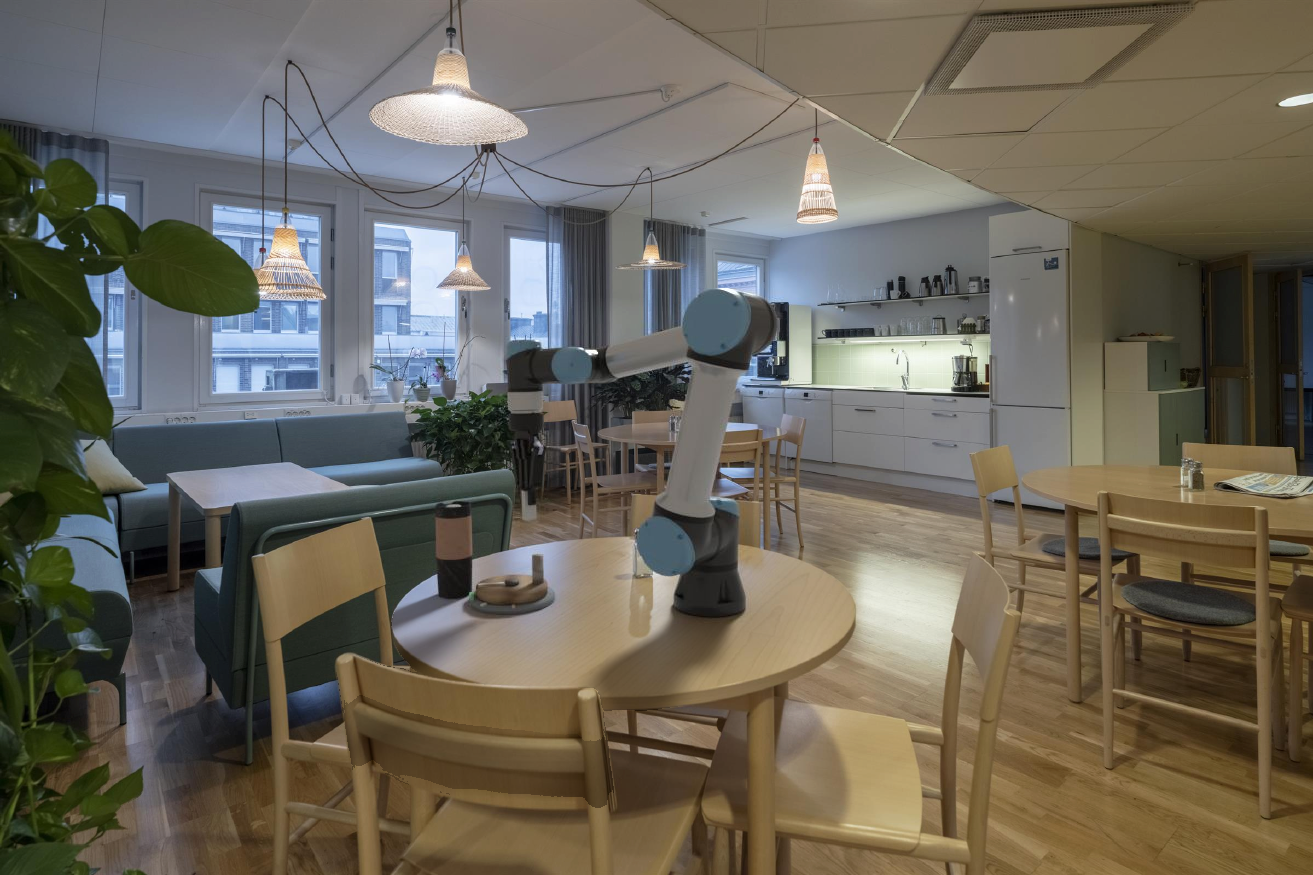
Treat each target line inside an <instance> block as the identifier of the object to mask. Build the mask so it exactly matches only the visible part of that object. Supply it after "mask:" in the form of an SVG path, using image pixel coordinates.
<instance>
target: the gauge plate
mask: <svg viewBox="0 0 1313 875" xmlns="http://www.w3.org/2000/svg"><path fill="white" fill-rule="evenodd" d="M555 597H556V593H555V591H554V589H553V588H551V587H549V586H548V593H547V595H546V596H545V597H543V598H541V599H539V600H536V601H533V602H528V603H523V604H513V605H498V604H490V603H485V602H482V601H480V600H478V599H477V598H476V590H474V591H472V592H469V596H468V605H469V607H470V608H471V609H472V610H474V611H476V610H477V611H476V612H479V613H483V614H488V615H489V614H491V615H518V614H526V613H527V614H528V613H531V612H532V613H533V612H535V611H539V610H543V609H545V608H547V607H549V606H551V605H553V603H554V602H555V599H556V598H555Z"/></svg>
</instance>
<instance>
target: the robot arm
mask: <svg viewBox="0 0 1313 875" xmlns="http://www.w3.org/2000/svg"><path fill="white" fill-rule="evenodd" d="M778 324H779V323H778V315H777V313H776V311H775V308H774V307H773V305H772V304H771V303H770V302H769V301H768V300H767V299H765V298H763V297H762V296H760V295H758V294H755V293H748V292H744V291H740V290H736V289H733V288H724V287H722V288H721V287H720V288H718V287H716V288H710V289H709V288H708V289H706V290H704V291H702V292H701V293H698V295H695V297H694V298H693V299H691V301H690V302H689V304H688V305H687V307H686V309H685V311H684V314H683V317H682V322H681V325H680V326H676V327H672V328H668V329H665V330H661V331H657V332H653V333H650V334H647V335H642V336H638V337H635V338H631V339H627V340H624V341H619V342H615V343H612V344H609V345H605V346H601V347H597V348H583V347H579V346H577V347H576V346H564V347H553V348H552V347H551V348H543V347H542V342H541V341H540V340H538V339H513V340H510V341H508V342H507V343H506V355H505V362H506V363H505V364H506V378H507V410H508V411H509V412H510V413H509V414H508V430H509V431H511V432H512V431H514V437H513V438H514V441H512V442H508V448H509V451H510V454H511V460H512V468H513V474H514V475H513V476H514V482H515V486H517V487H519V489H520V491H521V514H522V515H521V516H522V518H521V520H522V521H525V522H527V521H534V520H537V518H538V517H537V490H538V489H541V488H542V486H543V485H542V484H543V475H544V465H545V464H544V463H545V454H546V452H547V449H548V448H547V445H546V444H541V438H540V434H539V431H541V430H543V429H544V428H545V419H544V418H545V417H544V415H545V414H544V413H543V412H541V411H542V410H543V409H544V396H543V395H544V394H543V393H544V392H543V391H544V385H546V384H547V385H548V384H549V385H551V384H552V385H561V384H562V385H577V384H609V383H613V382H615V381H617V380H618V379H620V378H625V377H629V376H634V375H636V374H637V375H638V374H641V373H646V372H651V371H655V370H659V369H663V368H667V367H673V366H676V365H680V364H681V365H682V364H685V363H689V365H690V367H691V372H690V376H689V382H688V386H687V391H686V394H685V399H684V404H683V409H682V413H681V416H680V422H679V426H678V432H677V436H676V441H675V445H674V449H673V453H672V454H673V455H672V460H671V463H670V468H669V473H668V476H667V480H666V486H665V490H664V491H663V492H661V493H659V494H658V495H657V496H656V497H655V499H654V504H653V508H652V512H651V516H650V517H649V518H647V519H646V520H644V522H642V524H640V526H639V528H638V529H637V534H636V547H637V548H636V549H637V551H638V554H639V556H640V557H641V559H642V560H643V562H644V565H645V566H647V568H648V569H650V570H651V571H652V572H654V573H656V574H658V575H660V576H663V577H675V576H679V577H678V581H677V583H676V586H675V589H674V592H673V607H674V609H676V610H677V611H679V612H682V613H685V614H688V615H692V616H697V617H709V618H713V617H727V616H732V615H736V614H739V613H741V612H743V611H744V610H745V609H746V605H747V604H746V603H747V595H746V592H745V589H744V586H743V583H742V579H741V576H740V573H739V566H738V565H739V532H740V531H739V530H740V529H739V528H740V526H739V524H740V514H739V503H738V502H737V501H736V500H735V499H732V498H729V497H728V498H727V497H721V496H720V497H719V496H711V495H712V491H713V487H714V482H715V478H716V476H717V475H716V474H717V470H718V466H719V460H720V456H721V452H722V448H723V444H724V440H725V436H726V432H727V426H728V422H729V420H730V415H731V410H732V406H733V402H734V398H735V393H736V388H737V383H738V381H739V378H740V377H742V376H743V375H745V374H746V373H748V372H749V370H750V365H751V362H752V357H753V355H757V354H760V353H762V352H763V351H766V349H767V348H769V347H770V345H771V344H772V343H773V342H774V339H775V338H776V336H777V332H778Z"/></svg>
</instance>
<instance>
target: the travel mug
mask: <svg viewBox="0 0 1313 875" xmlns="http://www.w3.org/2000/svg"><path fill="white" fill-rule="evenodd" d="M434 512H435V557H436V559H435V560H436V576H437V577H436V578H437V593H438V597H440V598H442V599H445V600H446V599H448V600H455V599H456V600H458V599H463V598H466V597H469V592H473V529H472V528H473V527H472V524H473V523H472V503H471V502H470V501H466V500H465V501H464V500H463V501H462V500H454V501H453V502H452V503H444V502H439V503H436V504H435V511H434Z"/></svg>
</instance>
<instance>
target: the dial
mask: <svg viewBox="0 0 1313 875" xmlns="http://www.w3.org/2000/svg"><path fill="white" fill-rule="evenodd" d="M531 565H532V566H531V575H530V574H504V575H498V576H497V575H496V576H491V577H488V578H485V579H482V580H480V581H479V582H477V584H476V585H475V591H476V598H477V599H478V600H480V601H482V602H485V603H490V604H498V605H513V604H523V603H528V602H533V601H536V600H539V599H541V598H543V597H545V596H546V595H547V593H548V587H549V586H548V581H547V579H545V578H544V576H545V575H544V569H545V568H544V554H541V553H534V554H532V555H531Z"/></svg>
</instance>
